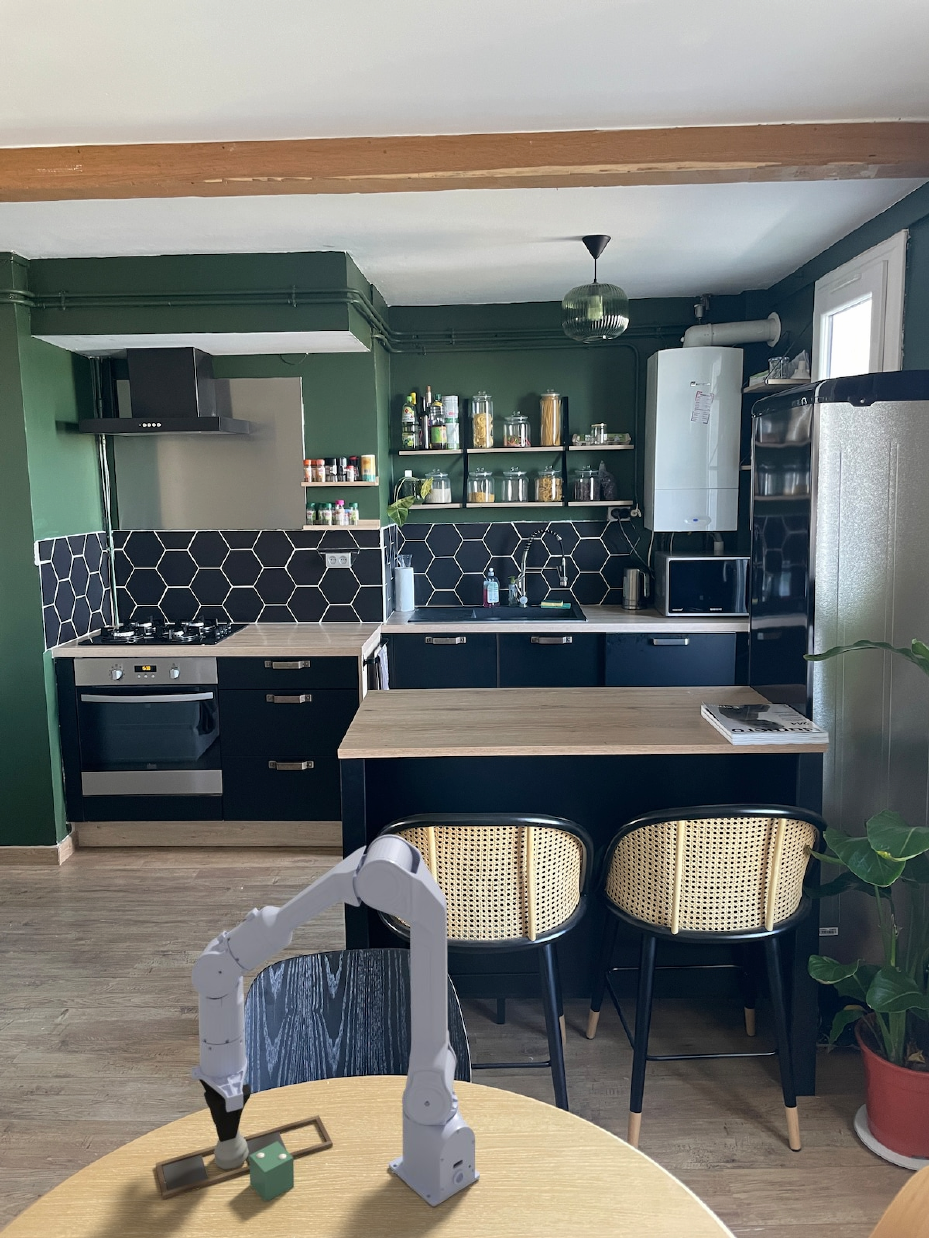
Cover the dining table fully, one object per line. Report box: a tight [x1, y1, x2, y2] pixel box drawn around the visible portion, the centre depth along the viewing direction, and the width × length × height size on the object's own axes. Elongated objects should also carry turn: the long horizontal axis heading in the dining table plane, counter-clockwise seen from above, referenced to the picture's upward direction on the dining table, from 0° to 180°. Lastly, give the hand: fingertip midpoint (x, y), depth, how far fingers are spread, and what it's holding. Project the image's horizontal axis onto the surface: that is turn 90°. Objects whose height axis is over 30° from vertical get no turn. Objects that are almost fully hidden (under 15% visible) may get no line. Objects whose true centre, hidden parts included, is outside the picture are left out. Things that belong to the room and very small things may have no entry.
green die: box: [249, 1141, 295, 1203], centre depth 116 cm, size 4×4×4 cm
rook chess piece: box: [213, 1128, 249, 1171], centre depth 120 cm, size 4×4×8 cm
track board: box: [155, 1114, 334, 1200], centre depth 122 cm, size 22×6×1 cm, turn 116°
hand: (224, 1129), depth 120 cm, fingers closed on rook chess piece, 3 cm apart
